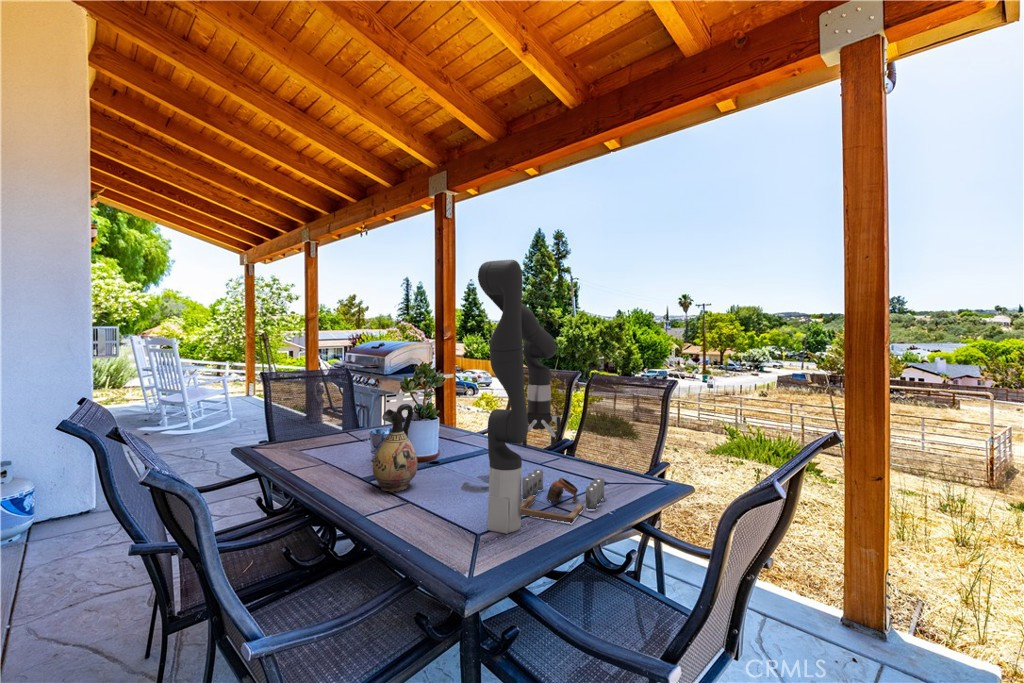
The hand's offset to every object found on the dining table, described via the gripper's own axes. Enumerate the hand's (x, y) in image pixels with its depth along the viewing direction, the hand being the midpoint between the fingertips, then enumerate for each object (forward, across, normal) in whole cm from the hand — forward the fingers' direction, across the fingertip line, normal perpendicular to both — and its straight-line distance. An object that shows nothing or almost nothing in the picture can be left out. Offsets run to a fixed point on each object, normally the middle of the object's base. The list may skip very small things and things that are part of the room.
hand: (538, 447), depth 144 cm
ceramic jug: (+19, -51, +10) cm, 55 cm away
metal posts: (+19, +8, +5) cm, 21 cm away
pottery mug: (+19, +7, +3) cm, 21 cm away
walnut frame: (+18, +3, -8) cm, 20 cm away
